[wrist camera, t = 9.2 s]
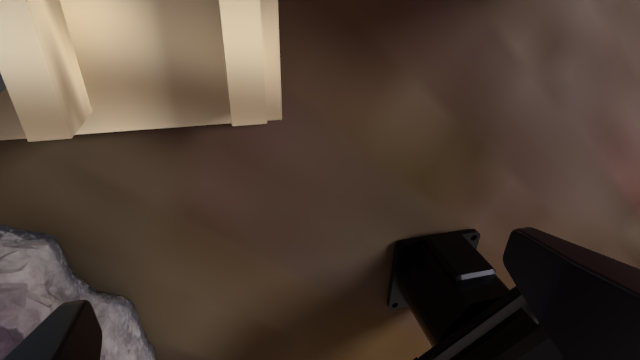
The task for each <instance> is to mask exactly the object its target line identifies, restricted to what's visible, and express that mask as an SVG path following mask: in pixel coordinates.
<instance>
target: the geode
mask: <svg viewBox="0 0 640 360" xmlns="http://www.w3.org/2000/svg"><path fill="white" fill-rule="evenodd" d="M78 300H88V301H89V302H90V303H91V305H92V307H93V309H94V312H95V314H96V317H97V319H98V322H99V324H100V327H101V330H102V349H101V356H100V360H156V355H155V350H154V346H152V345H151V344H150V343H149V342H148V339H147V337H146V334H145V332H144V330H143V328H142V326H141V325H140V320H139V316H138V313H137V311H136V309H135V307H134V305H133V303H132V302H131V301H130V300H128V299H127V298H125V297H122V296H119V295H115V294H111V293H107V292H106V293H98V292H96V291H95V290H94V289H92V288H91V287H90V286H89V285H88V284H86V283H85V282H84V281H83V280H82V279H81V278H80V277H79V276H77V275H76V274H75V273H74V272H72V270H71V268H70V265H69V263H68V261H67V259H66V257H65V255H64V253H63V250H62V248H61V246H60V245H59V243H58V242H57V241H56V239H55V238H54V237H53V235H49V234H43V233H36V232H30V231H24V230H19V229H16V228H12V227H9V226H5V225H2V224H0V360H2V359H3V358H4V357H5V356H6V355H8V354H9V353H10V352H11V351H12V350H13V349H14V348H15V347H16V346H17V345H18V344H19V343H20V342H21V341H22V340H23V339H24V338H25V337H27V336H28V335H29V334H30V333H31V332H32V331H33V330H34V329H35V328H36V327H37V326H38V325H39V324H40V323H41V322H42V321H43V320H44V319H46V318H47V317H48V316H49V315H50V314H51V313H52V312H53V311H54V310H55V309H56V308H57V307H58V306H60V305H61V304H63V303H66V302H72V301H78Z"/></svg>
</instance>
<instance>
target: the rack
mask: <svg viewBox="0 0 640 360" xmlns="http://www.w3.org/2000/svg"><path fill="white" fill-rule="evenodd" d="M0 73H1V75H2V78H3V80H4V83H5V85H6V88H7V89H5V90H4V91H2V92H0V140H12V139H25V138H27V140H28V142H32V141H45V140H58V139H72V137H73V136H74V135H79V134H93V133H106V132H120V131H133V130H147V129H160V128H174V127H187V126H201V125H214V124H228V123H232V126H243V125H256V124H267V121H268V120H282V101H281V73H280V44H279V15H278V0H0Z"/></svg>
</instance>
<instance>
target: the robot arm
mask: <svg viewBox="0 0 640 360" xmlns="http://www.w3.org/2000/svg"><path fill="white" fill-rule="evenodd" d="M479 238H480V234H479V233H478V232H477V231H476V230H475V229H469V230H463V231H456V232H450V233H444V234H438V235H431V236H425V237H419V238H412V239H406V240H401V241H399V242H398V243H397V244H396V246H395V251H394V258H393V265H392V271H391V278H390V285H389V292H388V298H387V305H388V307H389V309H390V310H396V309H401V308H406V307H409V308H410V309H411V311H412V313H413V315H414V316H415V318H416V320H417V321H418V323H419V325H420V326H421V328H422V330H423V332H424V333H425V335H426V337H427V338H428V340H429V342H430V344H431V345H432V348H431V349H430V350H428V351H427V352H425V353H424V354H423V355H421V356H420V357H419V358H417V357H416V358H415V359H413V360H640V269H638V268H636V267H633V266H630V265H628V264H625V263H623V262H620V261H617V260H615V259H612V258H610V257H607V256H605V255H602V254H599V253H597V252H594V251H592V250H589V249H586V248H584V247H581V246H579V245H576V244H574V243H571V242H568V241H566V240H563V239H561V238H558V237H555V236H553V235H550V234H548V233H545V232H543V231H540V230H537V229H535V228H532V227H525V228H519V229H515V230H513V231H512V232H511V234H510V236H509V239H508V242H507V245H506V248H505V251H504V254H503V262H504V265H505V267H506V269H507V271H508V272H509V274H510V276H511V277H512V279H513V281H514V282H515V284H516V286H515V287H514V288H512V289H511V290H509V289H508V288H507V286H506V285H505V284H504V283H503V282H502V281H501V280H500V279H499V278H498V277H497V276H496V275H495V274H496V270H495V269H494V268H493V267H492V266H491V265H490V264H489V263H488V262H487V261H486V260H485V258H484V257H483V256H482V255H481V254H480V253H479V252H478V251H477V250H476V249H477V245H478V242H479ZM404 246H405V247H404ZM402 247H403V248H402ZM101 349H102V330H101V327H100V324H99V322H98V319H97V317H96V314H95V312H94V309H93V307H92V305H91V303H90V302H89V301H88V300H78V301H72V302H66V303H63V304H61V305H60V306H58V307H57V308H56V309H55V310H54V311H53V312H52V313H51V314H50V315H49V316H48V317H47V318H46V319H44V320H43V321H42V322H41V323H40V324H39V325H38V326H37V327H36V328H35V329H34V330H33V331H32V332H31V333H30V334H29V335H28V336H27V337H25V338H24V339H23V340H22V341H21V342H20V343H19V344H18V345H17V346H16V347H15V348H14V349H13V350H12V351H11V352H10V353H9V354H8V355H6V356H5V357H4V358H3V359H2V360H100V356H101Z"/></svg>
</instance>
